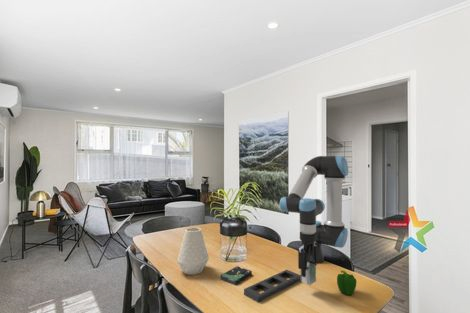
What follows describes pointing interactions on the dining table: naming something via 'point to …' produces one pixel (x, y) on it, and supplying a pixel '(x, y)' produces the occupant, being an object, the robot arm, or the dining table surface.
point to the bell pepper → (346, 283)
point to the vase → (192, 252)
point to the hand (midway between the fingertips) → (308, 280)
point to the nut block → (310, 273)
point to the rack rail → (269, 288)
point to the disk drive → (235, 275)
